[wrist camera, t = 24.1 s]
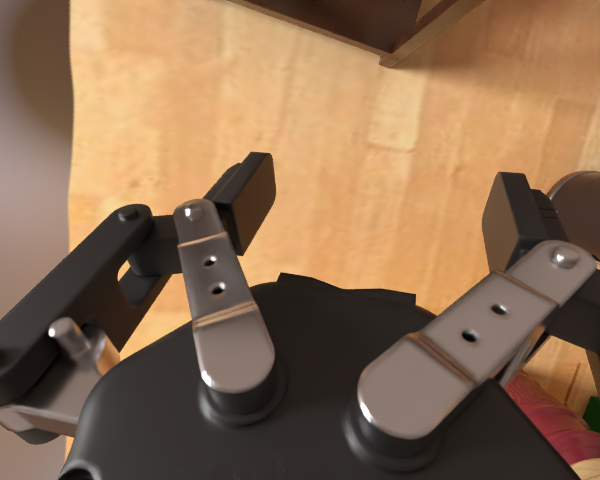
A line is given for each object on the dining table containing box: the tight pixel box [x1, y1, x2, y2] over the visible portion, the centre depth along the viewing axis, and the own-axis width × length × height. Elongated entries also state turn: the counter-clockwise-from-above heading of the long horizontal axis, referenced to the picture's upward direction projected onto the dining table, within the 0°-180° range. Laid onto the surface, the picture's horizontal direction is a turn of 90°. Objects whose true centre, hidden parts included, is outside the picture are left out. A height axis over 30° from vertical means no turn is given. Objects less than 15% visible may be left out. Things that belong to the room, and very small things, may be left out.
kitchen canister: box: [505, 371, 600, 480], centre depth 37 cm, size 13×13×18 cm
